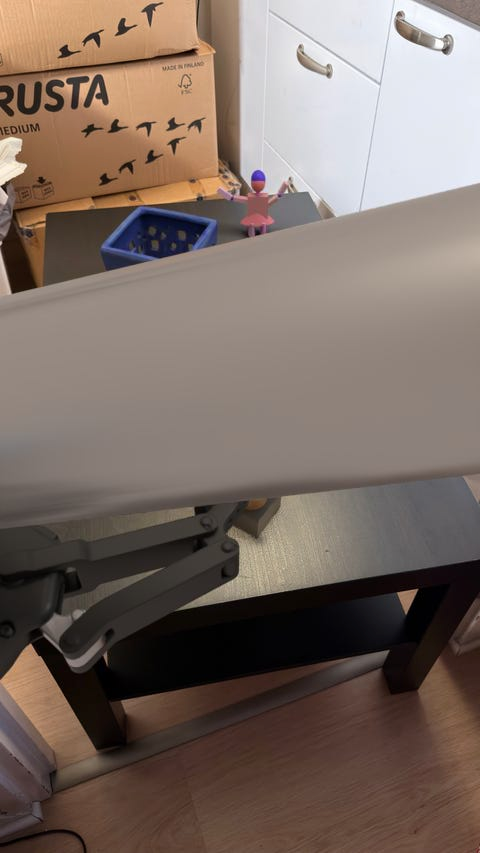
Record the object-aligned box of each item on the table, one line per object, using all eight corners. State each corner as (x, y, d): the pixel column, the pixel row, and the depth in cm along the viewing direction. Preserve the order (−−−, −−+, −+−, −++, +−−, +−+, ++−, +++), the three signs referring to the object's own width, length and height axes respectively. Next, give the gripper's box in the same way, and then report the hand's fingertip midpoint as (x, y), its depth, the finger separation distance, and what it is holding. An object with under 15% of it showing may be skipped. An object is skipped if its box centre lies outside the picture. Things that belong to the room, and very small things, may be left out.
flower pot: (107, 316, 94) (94, 246, 85) (147, 269, 102) (139, 201, 93) (188, 337, 91) (184, 267, 82) (222, 287, 99) (221, 218, 90)
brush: (280, 506, 71) (290, 410, 59) (257, 538, 68) (263, 444, 56) (243, 487, 73) (246, 389, 61) (219, 517, 70) (217, 421, 58)
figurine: (216, 229, 111) (215, 167, 102) (283, 227, 111) (288, 166, 103) (217, 239, 108) (216, 177, 100) (285, 237, 109) (290, 176, 101)
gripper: (-219, 581, 36) (45, 370, 48) (115, 866, 27) (336, 519, 39) (-303, 507, 30) (20, 289, 42) (84, 835, 21) (353, 441, 33)
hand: (172, 399), depth 41 cm, fingers open, 13 cm apart
